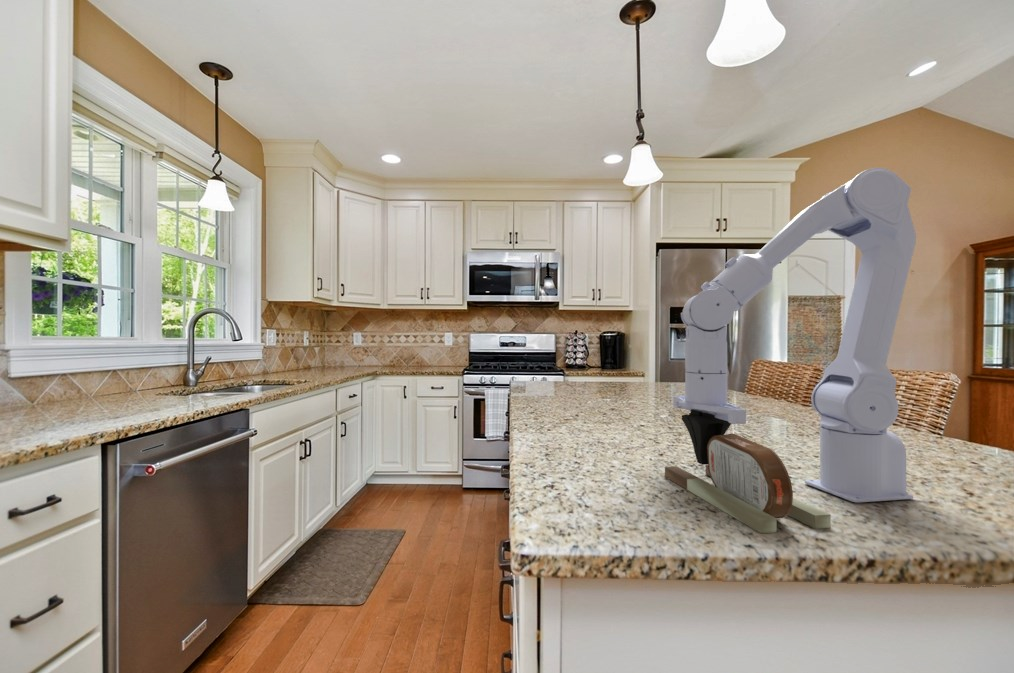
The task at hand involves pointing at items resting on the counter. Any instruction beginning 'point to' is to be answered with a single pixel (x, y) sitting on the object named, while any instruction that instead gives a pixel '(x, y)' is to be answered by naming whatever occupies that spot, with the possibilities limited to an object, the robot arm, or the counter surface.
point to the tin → (750, 473)
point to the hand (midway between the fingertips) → (705, 463)
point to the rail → (745, 504)
